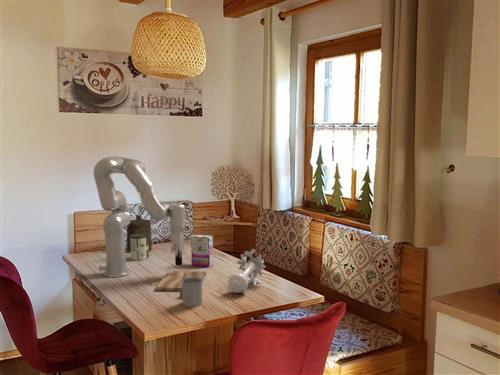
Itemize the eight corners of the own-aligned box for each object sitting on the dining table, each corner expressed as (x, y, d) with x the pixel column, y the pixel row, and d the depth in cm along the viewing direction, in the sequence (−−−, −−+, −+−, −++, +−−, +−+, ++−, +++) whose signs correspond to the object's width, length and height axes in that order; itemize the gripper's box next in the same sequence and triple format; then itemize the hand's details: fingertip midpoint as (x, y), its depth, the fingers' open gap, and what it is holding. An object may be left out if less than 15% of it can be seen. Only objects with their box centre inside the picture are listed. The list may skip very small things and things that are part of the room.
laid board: (176, 291, 238) (176, 287, 237) (186, 274, 265) (186, 271, 265) (198, 291, 237) (198, 287, 237) (205, 274, 265) (205, 271, 265)
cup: (183, 300, 224) (182, 277, 223) (202, 300, 225) (201, 277, 224) (182, 307, 216) (181, 283, 215) (202, 306, 216) (201, 283, 215)
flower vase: (246, 309, 232) (266, 280, 254) (248, 274, 225) (269, 248, 246) (220, 300, 237) (242, 273, 258) (221, 266, 229) (244, 241, 251)
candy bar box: (213, 265, 283) (213, 235, 281) (209, 267, 279) (209, 237, 277) (195, 263, 287) (194, 234, 286) (191, 265, 283) (190, 235, 281)
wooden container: (156, 248, 324) (155, 213, 322) (142, 253, 311) (141, 217, 309) (136, 246, 330) (135, 212, 328) (122, 251, 317) (120, 216, 315)
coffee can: (139, 256, 306) (138, 232, 304) (152, 258, 300) (152, 234, 299) (126, 259, 297) (125, 235, 295) (140, 262, 291) (139, 237, 290)
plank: (156, 290, 238) (156, 287, 238) (168, 273, 266) (168, 270, 266) (175, 290, 238) (175, 287, 237) (185, 274, 265) (185, 271, 265)
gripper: (173, 226, 266) (174, 261, 268) (167, 231, 252) (168, 268, 254) (187, 226, 266) (188, 261, 268) (182, 231, 251) (183, 268, 253)
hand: (178, 264), depth 261 cm, fingers closed
